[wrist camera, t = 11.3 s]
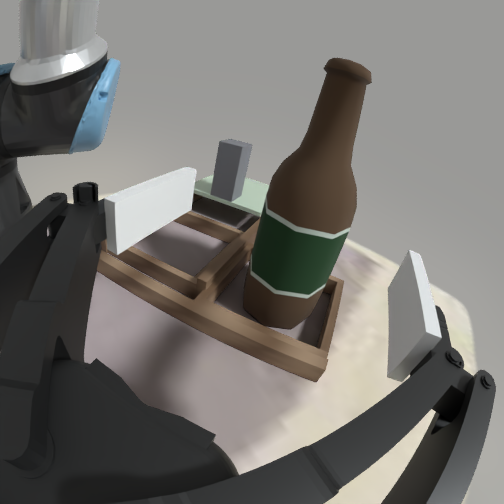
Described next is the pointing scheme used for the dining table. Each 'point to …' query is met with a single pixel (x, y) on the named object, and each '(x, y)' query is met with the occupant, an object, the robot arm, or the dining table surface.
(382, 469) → the dining table surface
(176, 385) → the dining table surface
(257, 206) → the cover
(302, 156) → the beer bottle
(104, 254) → the brown flat frame
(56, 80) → the robot arm
